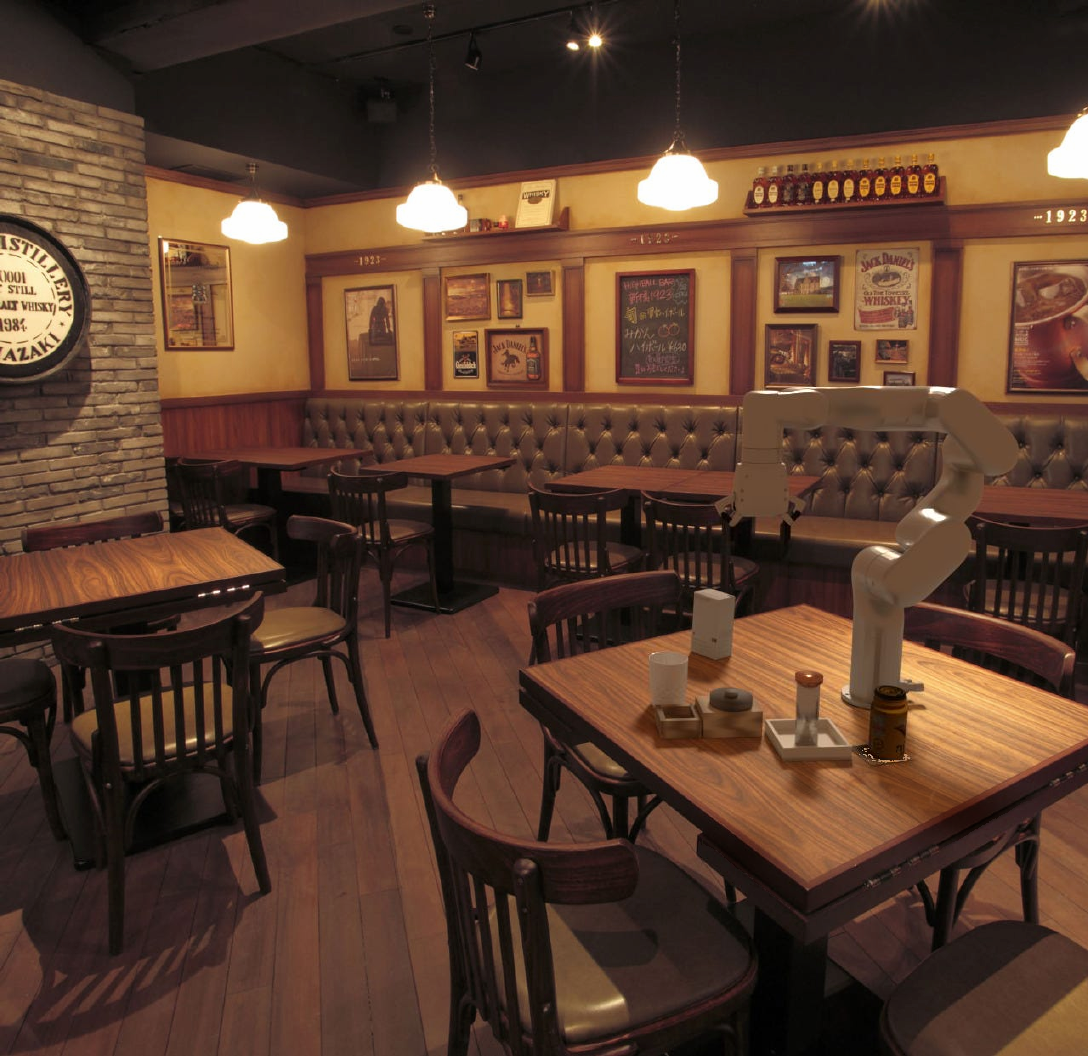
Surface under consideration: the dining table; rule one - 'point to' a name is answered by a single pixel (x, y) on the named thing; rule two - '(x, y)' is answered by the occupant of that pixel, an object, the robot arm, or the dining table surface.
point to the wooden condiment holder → (712, 716)
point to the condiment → (886, 726)
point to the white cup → (668, 677)
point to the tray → (828, 746)
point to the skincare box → (712, 623)
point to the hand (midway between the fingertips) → (759, 544)
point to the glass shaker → (807, 707)
